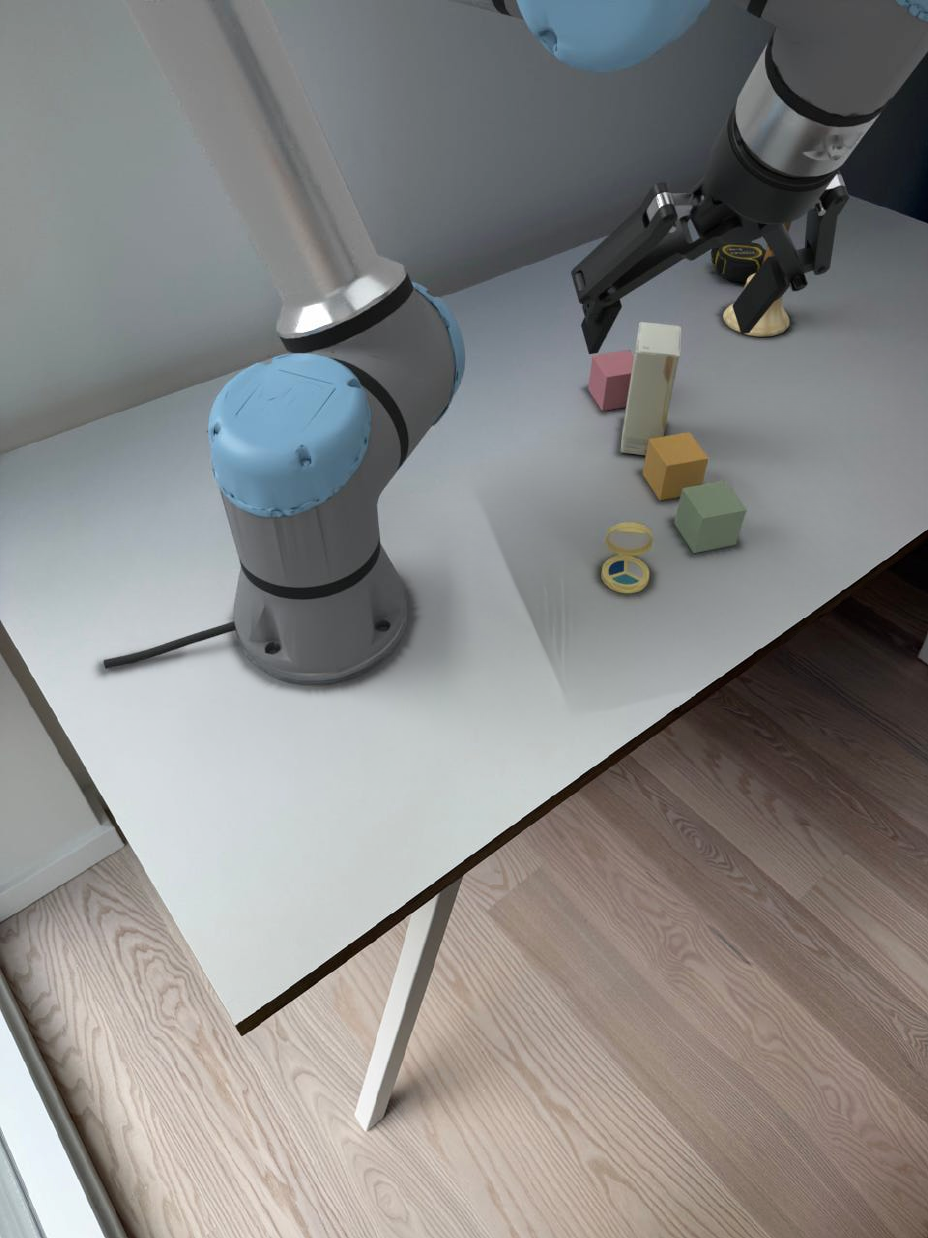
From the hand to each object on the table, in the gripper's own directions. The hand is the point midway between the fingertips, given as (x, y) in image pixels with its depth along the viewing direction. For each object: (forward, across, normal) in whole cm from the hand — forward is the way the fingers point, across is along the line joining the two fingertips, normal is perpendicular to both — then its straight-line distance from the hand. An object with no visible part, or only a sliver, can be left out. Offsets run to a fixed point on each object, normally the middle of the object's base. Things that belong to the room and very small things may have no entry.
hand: (665, 329), depth 74 cm
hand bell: (+32, +30, +18) cm, 47 cm away
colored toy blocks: (+22, +6, -3) cm, 23 cm away
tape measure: (+38, +33, +28) cm, 58 cm away
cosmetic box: (+24, +6, 0) cm, 24 cm away
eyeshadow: (+15, -3, -17) cm, 22 cm away
